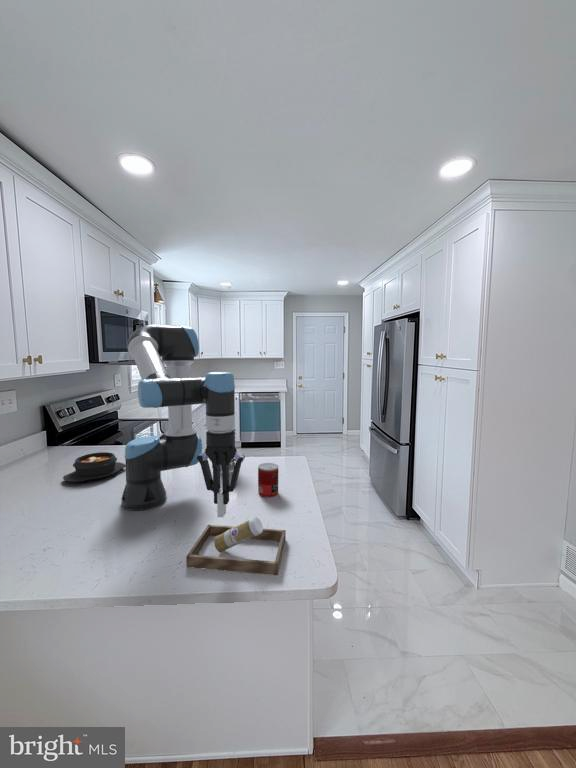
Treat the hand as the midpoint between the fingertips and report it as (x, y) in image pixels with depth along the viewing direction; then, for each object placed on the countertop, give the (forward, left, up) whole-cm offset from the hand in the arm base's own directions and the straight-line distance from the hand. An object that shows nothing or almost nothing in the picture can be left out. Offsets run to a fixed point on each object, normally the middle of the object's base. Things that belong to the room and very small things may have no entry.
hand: (221, 514), depth 90 cm
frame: (+5, 0, -11) cm, 12 cm away
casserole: (-73, +47, -11) cm, 88 cm away
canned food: (+6, +39, -11) cm, 41 cm away
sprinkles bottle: (-1, 0, -9) cm, 9 cm away
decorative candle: (-18, +61, -11) cm, 65 cm away
